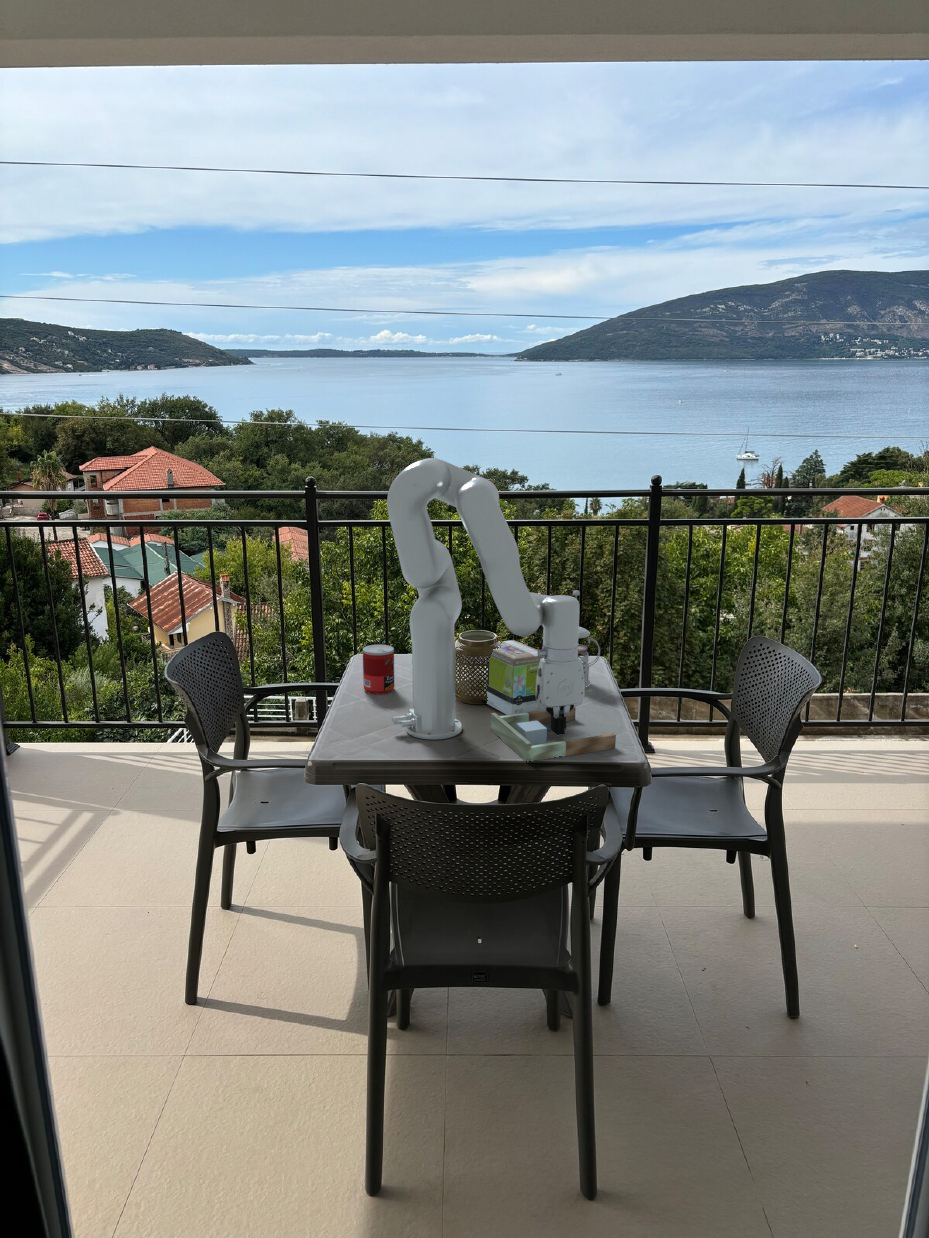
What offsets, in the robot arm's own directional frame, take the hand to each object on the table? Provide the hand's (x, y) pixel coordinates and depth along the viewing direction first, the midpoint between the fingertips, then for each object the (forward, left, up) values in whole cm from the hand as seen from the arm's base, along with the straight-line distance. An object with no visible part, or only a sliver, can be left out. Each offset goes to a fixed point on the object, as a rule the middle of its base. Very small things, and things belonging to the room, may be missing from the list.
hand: (558, 732), depth 192 cm
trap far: (0, +6, -1) cm, 7 cm away
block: (-7, 0, -2) cm, 7 cm away
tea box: (-1, +22, -2) cm, 22 cm away
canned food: (-28, +45, -2) cm, 53 cm away
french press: (+22, +33, -2) cm, 39 cm away
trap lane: (-2, 0, -1) cm, 2 cm away
